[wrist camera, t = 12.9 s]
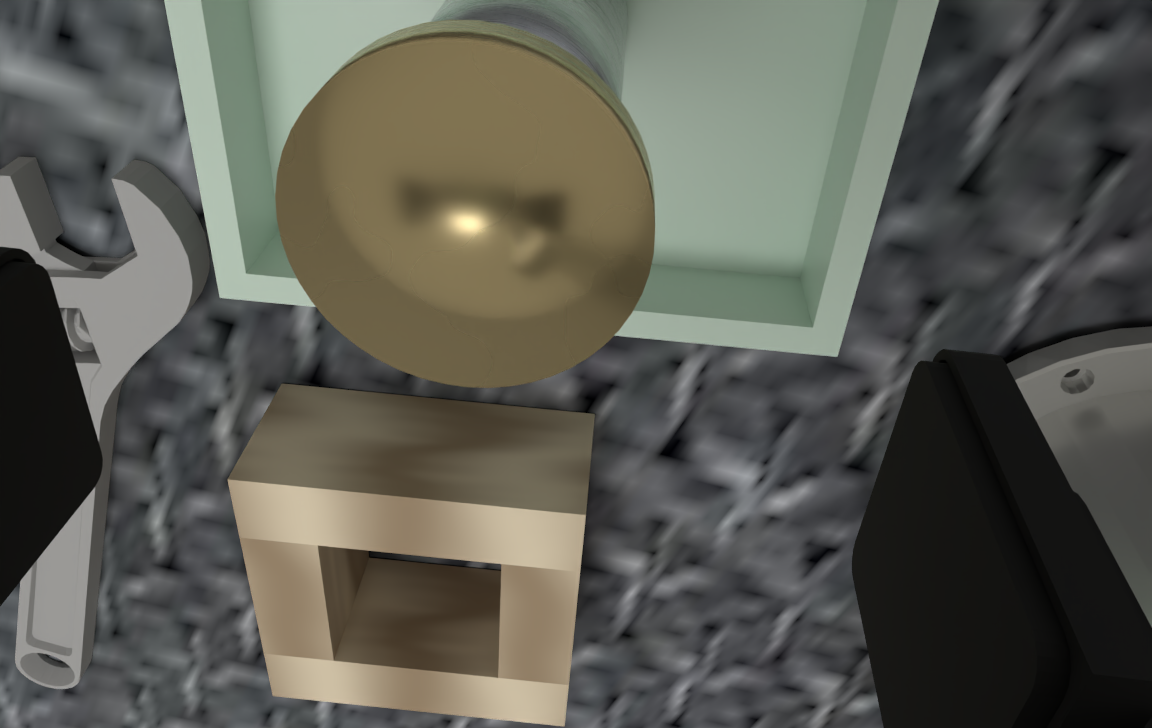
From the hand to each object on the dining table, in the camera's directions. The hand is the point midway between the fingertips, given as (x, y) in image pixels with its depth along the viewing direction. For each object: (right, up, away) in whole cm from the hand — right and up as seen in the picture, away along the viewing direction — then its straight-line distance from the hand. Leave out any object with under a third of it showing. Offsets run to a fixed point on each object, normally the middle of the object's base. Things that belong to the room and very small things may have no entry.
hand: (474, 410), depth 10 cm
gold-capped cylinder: (0, +9, +11) cm, 14 cm away
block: (-4, -5, +22) cm, 22 cm away
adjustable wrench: (-17, -2, +22) cm, 28 cm away
